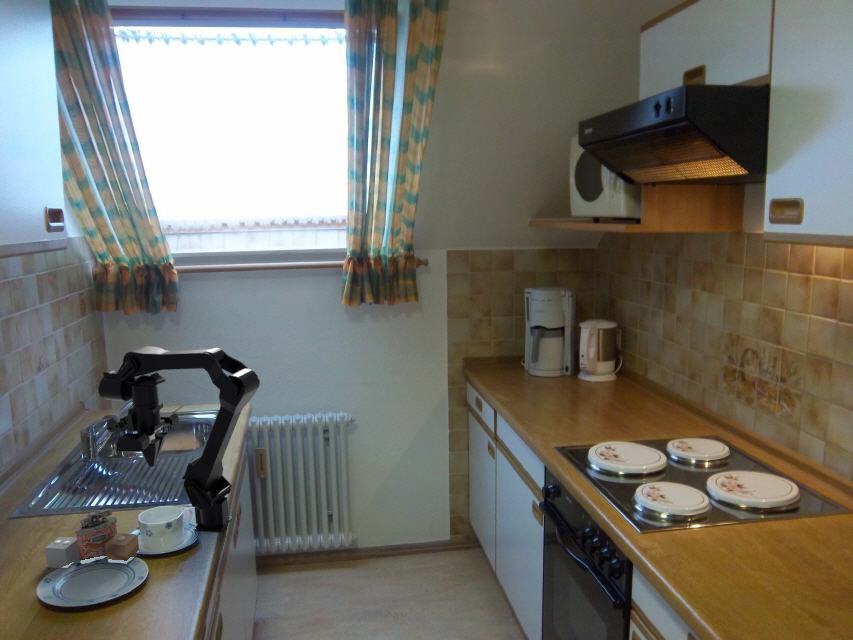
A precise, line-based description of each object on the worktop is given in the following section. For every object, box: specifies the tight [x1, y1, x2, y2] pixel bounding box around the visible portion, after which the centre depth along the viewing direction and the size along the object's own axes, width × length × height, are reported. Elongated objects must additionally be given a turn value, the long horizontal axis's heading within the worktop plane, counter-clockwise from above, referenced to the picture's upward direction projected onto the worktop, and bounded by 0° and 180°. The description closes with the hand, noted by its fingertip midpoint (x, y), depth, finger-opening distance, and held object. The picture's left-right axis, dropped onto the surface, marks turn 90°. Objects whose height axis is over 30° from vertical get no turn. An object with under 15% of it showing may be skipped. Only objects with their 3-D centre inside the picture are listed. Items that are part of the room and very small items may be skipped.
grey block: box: [44, 536, 79, 569], centre depth 142 cm, size 4×4×5 cm
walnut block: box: [105, 532, 140, 561], centre depth 143 cm, size 4×4×5 cm
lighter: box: [74, 508, 118, 562], centre depth 143 cm, size 8×3×10 cm, turn 129°
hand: (152, 466), depth 159 cm, fingers closed
